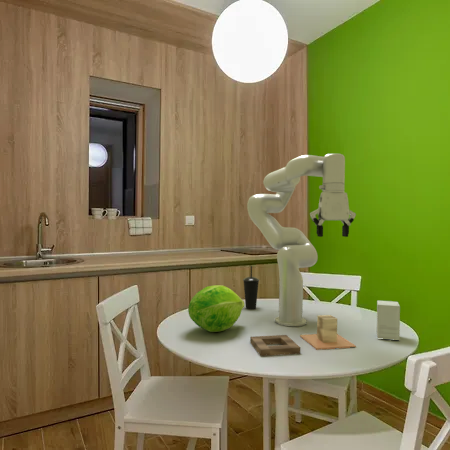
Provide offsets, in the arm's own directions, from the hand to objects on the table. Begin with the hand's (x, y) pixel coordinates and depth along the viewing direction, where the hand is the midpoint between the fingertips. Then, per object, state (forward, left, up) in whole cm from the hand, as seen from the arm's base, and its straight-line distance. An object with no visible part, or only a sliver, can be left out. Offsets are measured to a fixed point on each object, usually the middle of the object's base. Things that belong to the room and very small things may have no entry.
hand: (332, 236), depth 139 cm
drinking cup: (-46, -18, -36) cm, 61 cm away
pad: (+5, -4, -36) cm, 37 cm away
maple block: (+5, -4, -36) cm, 36 cm away
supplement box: (+4, +20, -36) cm, 42 cm away
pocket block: (+8, -24, -36) cm, 44 cm away
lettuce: (-14, -39, -36) cm, 55 cm away
